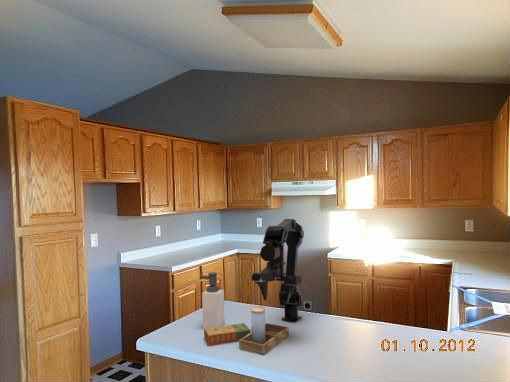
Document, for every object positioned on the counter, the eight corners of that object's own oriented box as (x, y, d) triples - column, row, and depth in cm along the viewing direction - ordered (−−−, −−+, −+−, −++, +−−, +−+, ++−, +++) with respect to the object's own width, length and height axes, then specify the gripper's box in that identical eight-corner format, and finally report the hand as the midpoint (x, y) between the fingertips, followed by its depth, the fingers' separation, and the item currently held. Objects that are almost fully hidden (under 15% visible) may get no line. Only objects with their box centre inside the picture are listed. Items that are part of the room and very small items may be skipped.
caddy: (266, 330, 146) (266, 322, 146) (289, 335, 140) (288, 327, 140) (239, 349, 129) (238, 340, 129) (264, 355, 124) (263, 345, 124)
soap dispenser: (206, 322, 156) (204, 270, 156) (224, 325, 153) (223, 271, 153) (197, 328, 150) (196, 273, 150) (217, 330, 147) (215, 275, 147)
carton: (204, 339, 140) (203, 327, 140) (244, 332, 145) (244, 321, 145) (208, 347, 132) (208, 335, 132) (251, 340, 137) (251, 329, 137)
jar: (260, 340, 135) (259, 305, 135) (268, 345, 130) (267, 308, 130) (249, 344, 132) (248, 308, 132) (257, 348, 128) (256, 311, 128)
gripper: (243, 259, 138) (243, 302, 137) (288, 262, 129) (288, 308, 127) (259, 257, 148) (258, 297, 146) (302, 260, 138) (302, 303, 137)
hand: (275, 301), depth 139 cm, fingers open, 9 cm apart
